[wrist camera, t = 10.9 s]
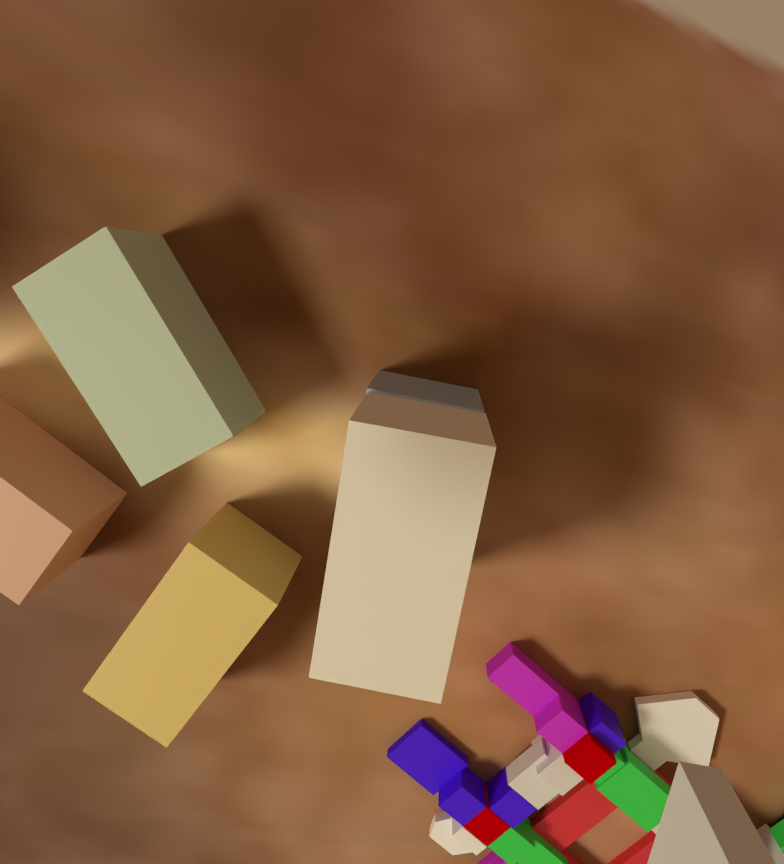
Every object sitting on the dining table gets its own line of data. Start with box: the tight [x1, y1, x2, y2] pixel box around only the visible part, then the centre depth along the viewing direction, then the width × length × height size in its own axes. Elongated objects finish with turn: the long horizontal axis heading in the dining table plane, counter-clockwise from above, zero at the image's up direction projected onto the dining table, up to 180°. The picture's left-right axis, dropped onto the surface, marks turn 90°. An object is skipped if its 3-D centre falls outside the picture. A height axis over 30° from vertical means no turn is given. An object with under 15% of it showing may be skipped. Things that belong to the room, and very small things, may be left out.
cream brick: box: [309, 392, 496, 704], centre depth 23 cm, size 9×4×5 cm, turn 170°
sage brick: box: [12, 226, 267, 487], centre depth 27 cm, size 9×4×5 cm, turn 29°
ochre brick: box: [83, 503, 303, 747], centre depth 30 cm, size 9×4×5 cm, turn 143°
